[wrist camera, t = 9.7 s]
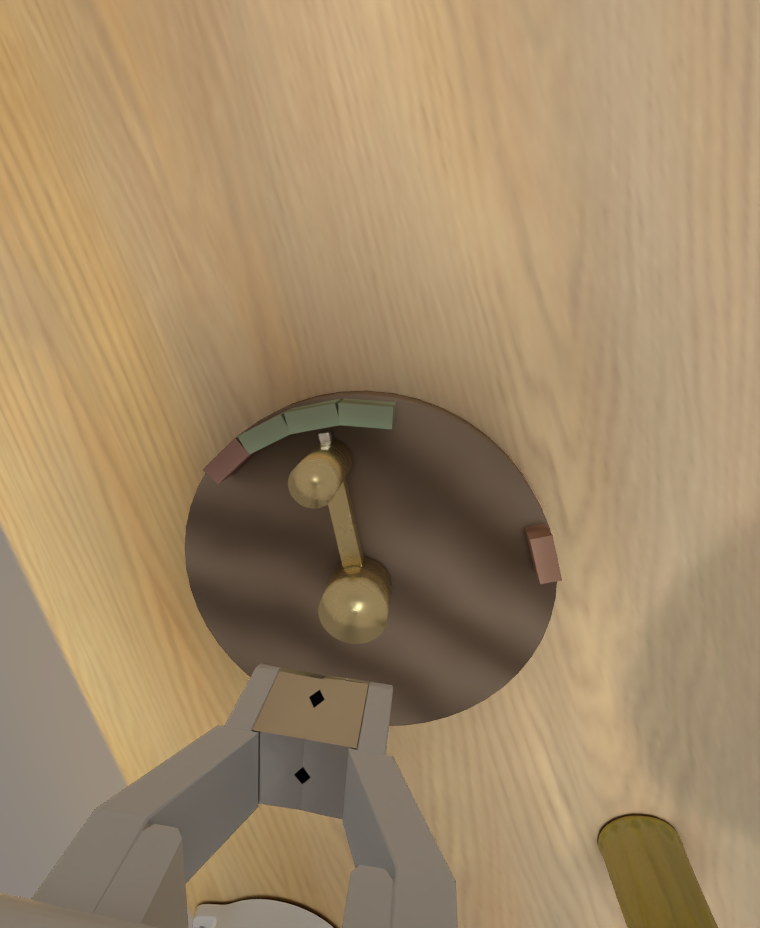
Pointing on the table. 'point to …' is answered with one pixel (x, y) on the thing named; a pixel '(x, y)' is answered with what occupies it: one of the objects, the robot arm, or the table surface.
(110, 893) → the robot arm
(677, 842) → the vase
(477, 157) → the table surface
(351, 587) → the brass dumbbell
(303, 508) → the dial base
